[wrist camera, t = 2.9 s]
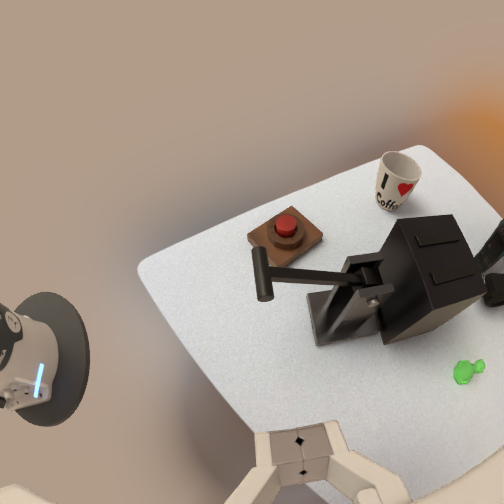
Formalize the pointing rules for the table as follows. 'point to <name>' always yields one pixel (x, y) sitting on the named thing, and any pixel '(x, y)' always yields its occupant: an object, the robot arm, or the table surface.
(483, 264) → the ceramic cat
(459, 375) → the game piece
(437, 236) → the toaster
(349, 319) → the toaster bracket
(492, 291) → the controller
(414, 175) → the cup
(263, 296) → the toaster lever
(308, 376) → the table surface
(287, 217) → the button
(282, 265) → the control block
